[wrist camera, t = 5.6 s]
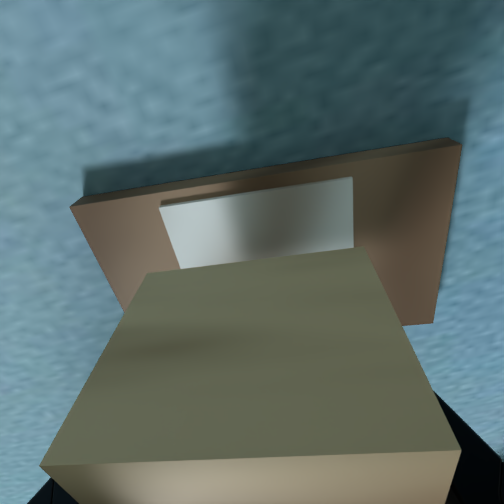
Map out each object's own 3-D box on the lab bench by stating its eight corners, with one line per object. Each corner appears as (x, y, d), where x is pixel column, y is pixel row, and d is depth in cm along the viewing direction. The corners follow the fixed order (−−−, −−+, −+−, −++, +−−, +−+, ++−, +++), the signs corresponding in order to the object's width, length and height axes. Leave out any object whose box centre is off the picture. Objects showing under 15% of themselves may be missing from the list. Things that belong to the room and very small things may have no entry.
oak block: (363, 388, 11) (418, 588, 7) (201, 399, 12) (165, 583, 8) (363, 246, 8) (462, 450, 4) (147, 273, 9) (38, 465, 5)
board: (447, 137, 11) (465, 146, 10) (423, 308, 15) (435, 326, 14) (82, 196, 13) (66, 208, 12) (149, 334, 17) (142, 352, 16)
